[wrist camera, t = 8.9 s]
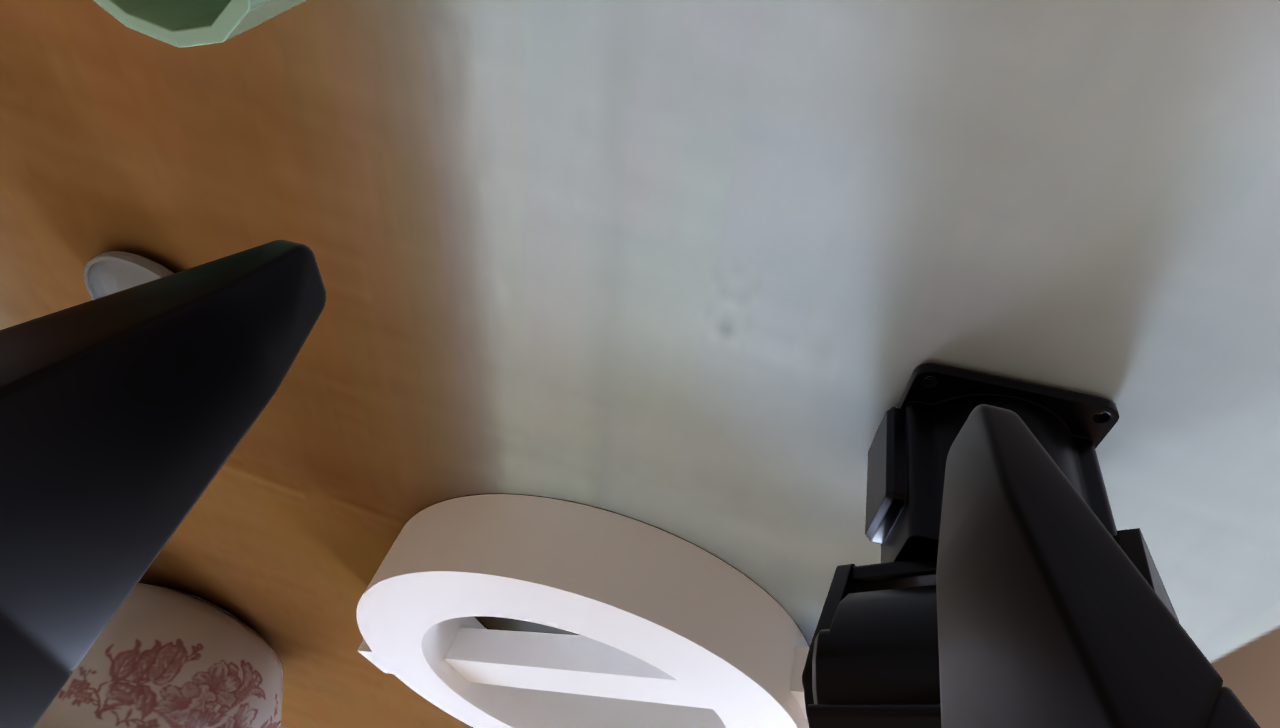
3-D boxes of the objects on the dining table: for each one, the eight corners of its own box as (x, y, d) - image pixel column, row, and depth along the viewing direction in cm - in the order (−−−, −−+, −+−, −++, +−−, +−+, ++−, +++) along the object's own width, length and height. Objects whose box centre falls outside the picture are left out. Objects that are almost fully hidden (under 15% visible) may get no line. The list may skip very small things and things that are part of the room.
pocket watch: (88, 219, 31) (-151, 372, 24) (267, 306, 31) (87, 478, 24) (117, 334, 36) (-67, 484, 29) (267, 405, 37) (122, 567, 30)
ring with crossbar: (378, 615, 54) (344, 674, 51) (427, 421, 34) (377, 498, 31) (695, 753, 56) (682, 819, 53) (914, 647, 36) (916, 741, 33)
